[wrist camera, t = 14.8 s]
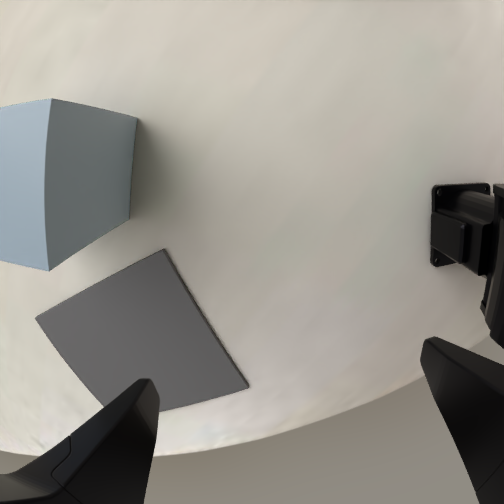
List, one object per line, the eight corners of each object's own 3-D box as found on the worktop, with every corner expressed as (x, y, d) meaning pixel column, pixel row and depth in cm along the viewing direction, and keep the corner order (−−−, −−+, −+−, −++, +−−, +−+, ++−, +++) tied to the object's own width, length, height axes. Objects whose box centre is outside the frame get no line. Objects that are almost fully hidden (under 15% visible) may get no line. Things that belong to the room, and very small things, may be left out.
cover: (137, 117, 18) (51, 98, 8) (129, 219, 20) (48, 271, 11) (56, 120, 18) (-40, 118, 8) (51, 211, 20) (-38, 250, 10)
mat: (164, 248, 21) (162, 250, 21) (248, 385, 25) (248, 388, 25) (36, 316, 23) (34, 318, 23) (117, 417, 27) (116, 419, 27)
